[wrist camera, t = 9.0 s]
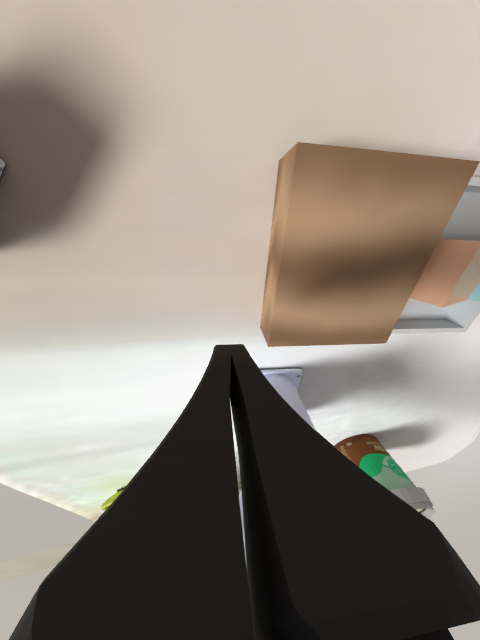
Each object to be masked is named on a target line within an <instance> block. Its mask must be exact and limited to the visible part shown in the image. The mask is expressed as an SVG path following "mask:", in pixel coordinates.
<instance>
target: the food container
mask: <svg viewBox="0 0 480 640" xmlns="http://www.w3.org/2000/svg"><path fill="white" fill-rule="evenodd" d="M334 447H335V448H336V449H338V450H339V451H340V452H341V453H342V454H343V455H344V456H346V457H347V458H348V459H349V460H351V461H352V462H353V463H354V464H356V465H357V466H358V467H359V468H361V469H362V470H363V471H364V472H366V473H367V474H368V475H369V476H371V477H372V478H373V479H375V480H376V481H377V482H379V483H380V484H381V485H383V486H384V487H385V488H387V489H388V490H390V491H391V492H392V493H394V494H395V495H396V496H398V497H399V498H401V499H402V500H403V501H405V502H406V503H407V504H409V505H410V506H411V507H413V508H414V509H416V510H417V511H418V512H420V513H421V514H422V515H424V516H425V517H426V518H428V519H430V518H432V517H433V516H434V514H435V510H434V509H433V508H432V506H433V505H432V503H431V501H430V499H429V497H428V496H427V494H426V492H425V491H424V489H422V488H419V487H416V486H415V485H414V484H413V482H412V481H411V480H410V479H409V478H408V477H407V475H406V474H405V473H404V472H403V470H402V469H401V468H400V467H399V465H398V464H397V463H396V462H395V461H394V459H393V458H392V457H391V456H390V455H389V453H388V452H387V451H386V450H385V448H384V447H383V446H382V445H381V444H380V442H379V441H378V440H377V439H376V438H375V437H374V436H372V435H369V434H361V435H355V436H352V437H349V438H346V439H344V440H342V441H340V442H339V443H337V444H336V445H335V446H334Z"/></svg>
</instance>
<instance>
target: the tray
mask: <svg viewBox="0 0 480 640" xmlns="http://www.w3.org/2000/svg"><path fill="white" fill-rule="evenodd" d="M440 238H443V239H471V240H480V177H474V176H472V177H471V179H470V181H469V183H468V185H467V187H466V189H465V191H464V193H463V195H462V197H461V199H460V201H459V203H458V204H457V206H456V208H455V210H454V212H453V214H452V216H451V218H450V220H449V222H448V224H447V226H446V228H445V230H444V232H443V234H442V236H441V237H440ZM479 313H480V302H479V301H474V300H466V301H463V302H459V303H456V304H453V305H449V306H446V307H442V308H441V307H438V306H435V305H431V304H428V303H425V302H421V301H418V300H415V299H411V298H409V300H408V301H407V303H406V305H405V307H404V309H403V311H402V313H401V315H400V317H399V319H398V321H397V323H396V325H395V327H394V329H393V331H392V333H433V332H466V330H467V329H468V328H469V326H470V325H471V324H472V322H473V321H474V319H475V318H476V317H477V315H478V314H479Z"/></svg>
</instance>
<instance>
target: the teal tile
mask: <svg viewBox="0 0 480 640" xmlns="http://www.w3.org/2000/svg"><path fill="white" fill-rule="evenodd" d="M468 300H474V301H479V302H480V282H479V284H478V285H477V287H476V288H475V290H474V291H473V293H472V294H471V295H470V297H469V298H468Z"/></svg>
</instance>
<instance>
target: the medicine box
mask: <svg viewBox="0 0 480 640" xmlns="http://www.w3.org/2000/svg"><path fill="white" fill-rule="evenodd" d="M4 167H5V162H4V161H2V160H1V159H0V176H1V173H2V170H3V168H4Z"/></svg>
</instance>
